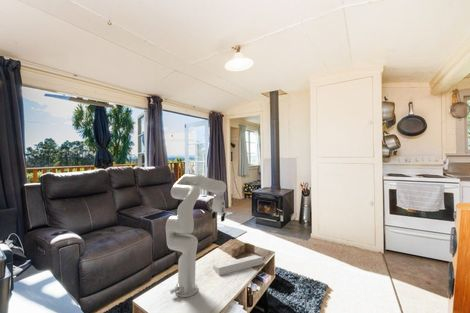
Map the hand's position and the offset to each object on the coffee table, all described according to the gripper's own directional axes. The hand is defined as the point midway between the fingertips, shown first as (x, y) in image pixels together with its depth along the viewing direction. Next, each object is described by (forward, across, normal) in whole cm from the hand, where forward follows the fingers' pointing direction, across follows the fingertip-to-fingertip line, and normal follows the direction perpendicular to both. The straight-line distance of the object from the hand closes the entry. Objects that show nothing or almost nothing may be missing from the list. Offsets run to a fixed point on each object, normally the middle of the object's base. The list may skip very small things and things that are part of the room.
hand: (218, 219), depth 161 cm
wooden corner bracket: (+28, -13, -16) cm, 35 cm away
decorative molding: (+29, -20, -1) cm, 35 cm away
